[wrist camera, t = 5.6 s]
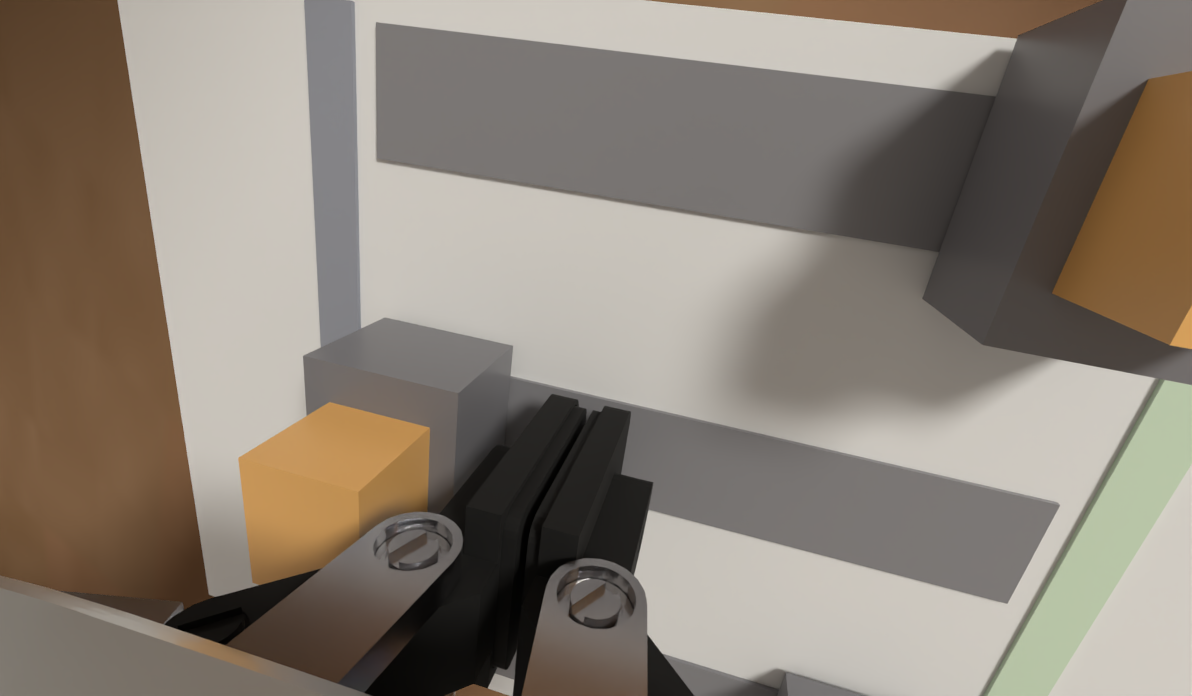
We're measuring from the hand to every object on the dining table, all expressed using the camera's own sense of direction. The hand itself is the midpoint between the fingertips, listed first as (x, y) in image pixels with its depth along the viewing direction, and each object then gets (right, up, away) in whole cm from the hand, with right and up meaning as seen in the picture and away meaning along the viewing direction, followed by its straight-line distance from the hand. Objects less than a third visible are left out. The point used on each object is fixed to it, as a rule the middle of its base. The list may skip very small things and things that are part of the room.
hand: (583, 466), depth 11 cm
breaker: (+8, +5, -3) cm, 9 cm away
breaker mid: (-3, +1, +1) cm, 4 cm away
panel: (+2, +1, +2) cm, 3 cm away
